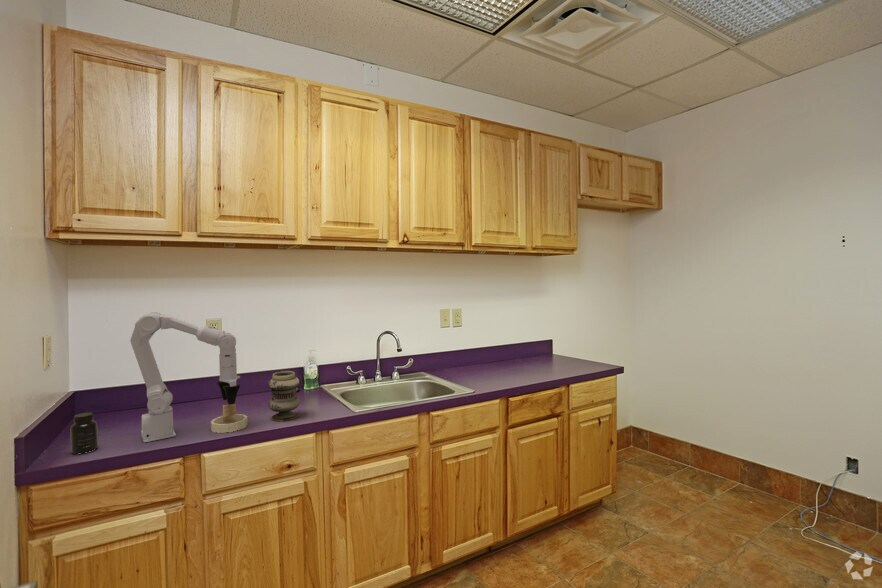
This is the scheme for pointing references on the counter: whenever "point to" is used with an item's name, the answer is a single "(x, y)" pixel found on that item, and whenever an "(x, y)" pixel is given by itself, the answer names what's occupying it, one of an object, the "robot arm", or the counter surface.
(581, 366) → the counter surface
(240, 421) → the beige round dish
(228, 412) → the brown wooden block
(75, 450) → the supplement bottle
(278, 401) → the apothecary jar
